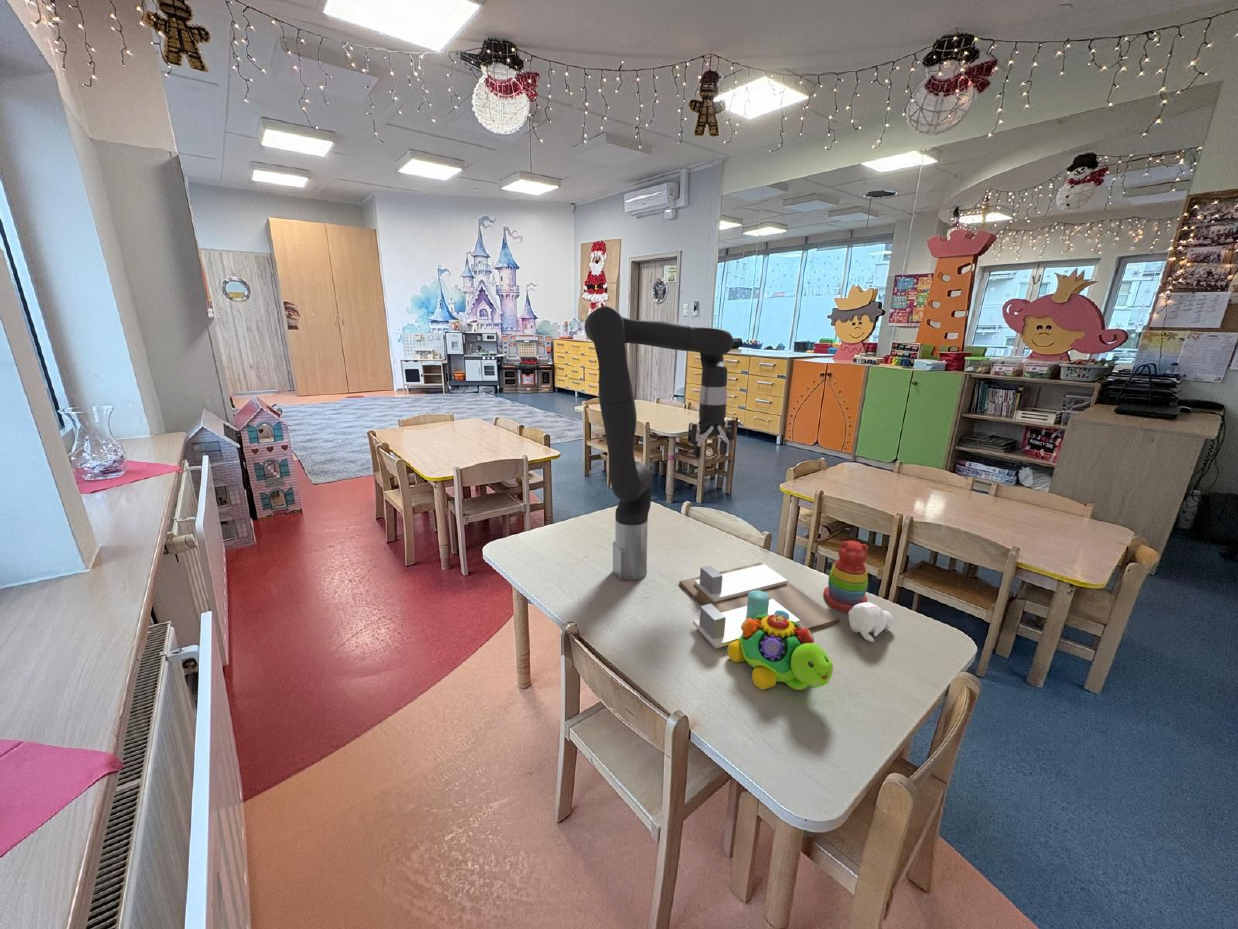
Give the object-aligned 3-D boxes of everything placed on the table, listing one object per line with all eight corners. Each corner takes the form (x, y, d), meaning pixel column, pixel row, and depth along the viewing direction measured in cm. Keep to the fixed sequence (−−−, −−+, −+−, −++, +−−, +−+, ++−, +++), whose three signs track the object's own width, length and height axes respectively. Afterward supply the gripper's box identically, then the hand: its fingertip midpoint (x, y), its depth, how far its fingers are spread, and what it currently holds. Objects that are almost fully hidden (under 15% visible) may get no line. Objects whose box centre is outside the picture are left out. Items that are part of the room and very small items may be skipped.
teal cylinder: (754, 625, 120) (756, 603, 118) (742, 614, 124) (743, 593, 122) (771, 620, 121) (773, 599, 120) (758, 609, 126) (760, 588, 124)
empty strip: (714, 602, 131) (715, 581, 129) (694, 583, 140) (695, 564, 138) (787, 583, 140) (789, 564, 138) (764, 567, 148) (765, 548, 147)
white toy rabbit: (848, 599, 119) (882, 591, 124) (841, 631, 121) (874, 622, 126) (872, 613, 113) (906, 604, 119) (864, 646, 115) (897, 636, 121)
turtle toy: (787, 724, 94) (794, 672, 91) (717, 650, 114) (720, 605, 111) (854, 698, 101) (863, 648, 97) (776, 632, 121) (781, 589, 117)
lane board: (746, 650, 114) (746, 646, 114) (679, 584, 141) (679, 581, 141) (839, 622, 125) (839, 618, 124) (759, 565, 152) (760, 562, 152)
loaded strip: (716, 648, 113) (717, 625, 111) (692, 623, 122) (694, 602, 120) (799, 623, 122) (802, 602, 120) (772, 602, 131) (774, 582, 129)
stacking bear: (866, 598, 135) (877, 538, 130) (867, 618, 126) (878, 554, 121) (824, 588, 139) (832, 530, 134) (821, 607, 131) (830, 545, 125)
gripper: (698, 405, 136) (695, 462, 141) (741, 401, 141) (737, 457, 146) (684, 401, 142) (682, 455, 147) (726, 397, 148) (723, 450, 152)
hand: (710, 456), depth 146 cm, fingers open, 8 cm apart
